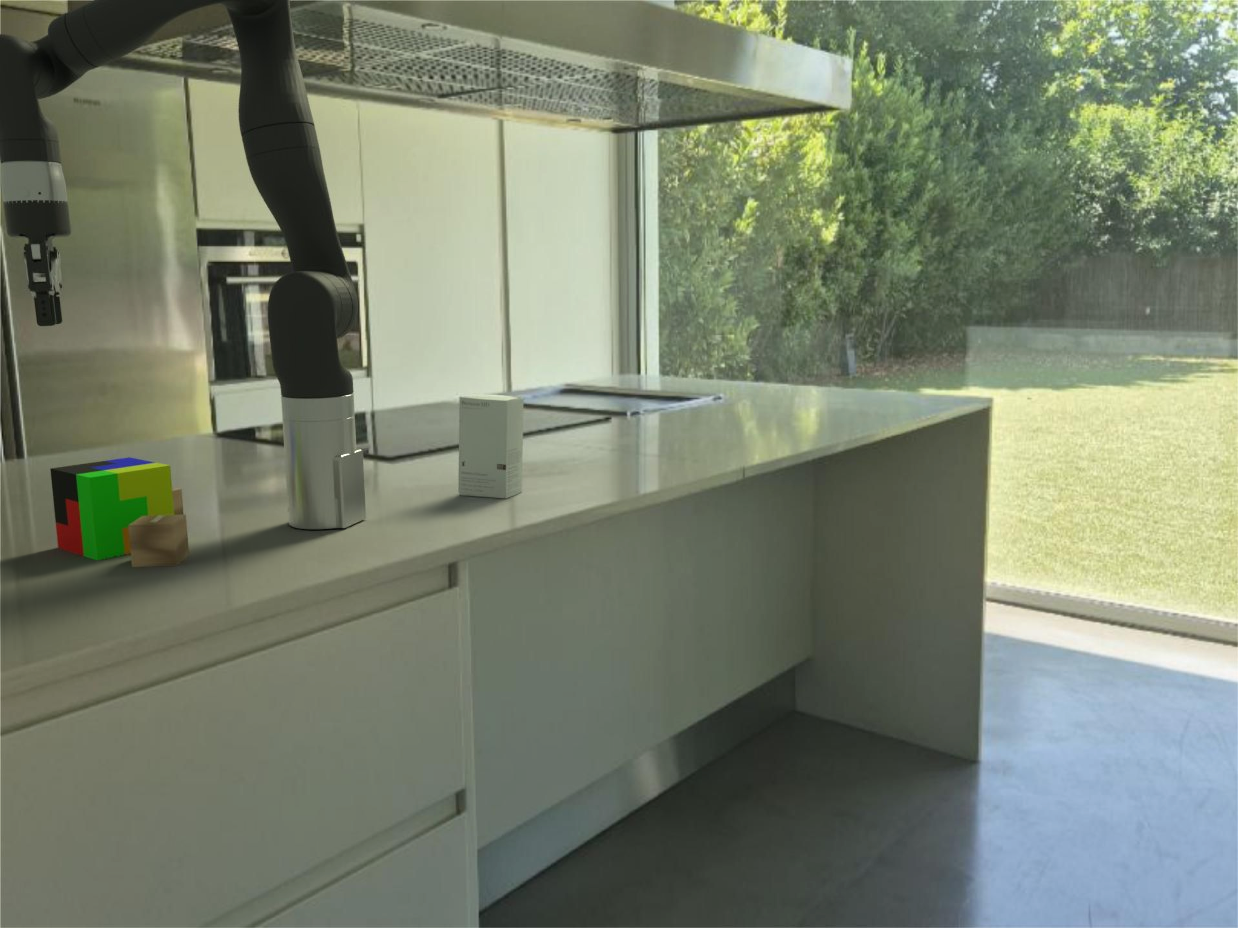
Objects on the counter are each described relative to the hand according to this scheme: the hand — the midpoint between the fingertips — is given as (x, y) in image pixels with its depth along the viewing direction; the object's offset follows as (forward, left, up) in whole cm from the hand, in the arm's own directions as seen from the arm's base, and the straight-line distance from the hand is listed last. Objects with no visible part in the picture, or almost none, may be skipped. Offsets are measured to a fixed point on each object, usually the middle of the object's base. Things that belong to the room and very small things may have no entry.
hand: (50, 325), depth 149 cm
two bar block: (-14, +1, -27) cm, 30 cm away
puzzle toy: (-16, +11, -27) cm, 33 cm away
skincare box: (-50, -29, -27) cm, 64 cm away
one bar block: (-26, +16, -27) cm, 41 cm away
